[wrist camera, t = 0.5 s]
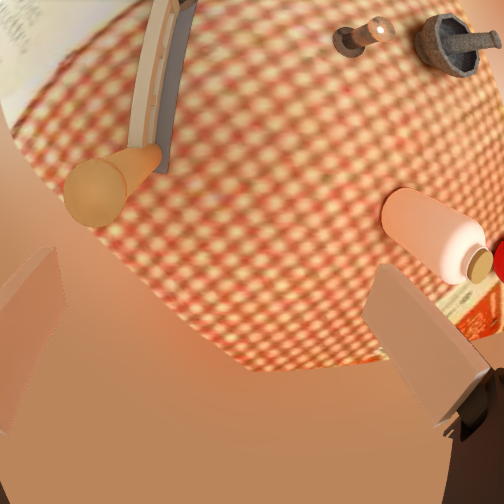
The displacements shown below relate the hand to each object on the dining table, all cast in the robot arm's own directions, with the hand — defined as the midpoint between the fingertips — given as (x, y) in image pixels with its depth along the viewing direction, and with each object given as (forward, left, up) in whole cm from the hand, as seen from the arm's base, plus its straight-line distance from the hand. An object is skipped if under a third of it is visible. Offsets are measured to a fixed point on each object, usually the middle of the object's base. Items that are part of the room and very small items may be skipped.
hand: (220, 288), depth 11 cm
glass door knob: (-20, +14, -26) cm, 36 cm away
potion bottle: (+2, +28, -26) cm, 39 cm away
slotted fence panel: (-9, -8, -25) cm, 28 cm away
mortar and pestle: (-26, +28, -26) cm, 46 cm away
